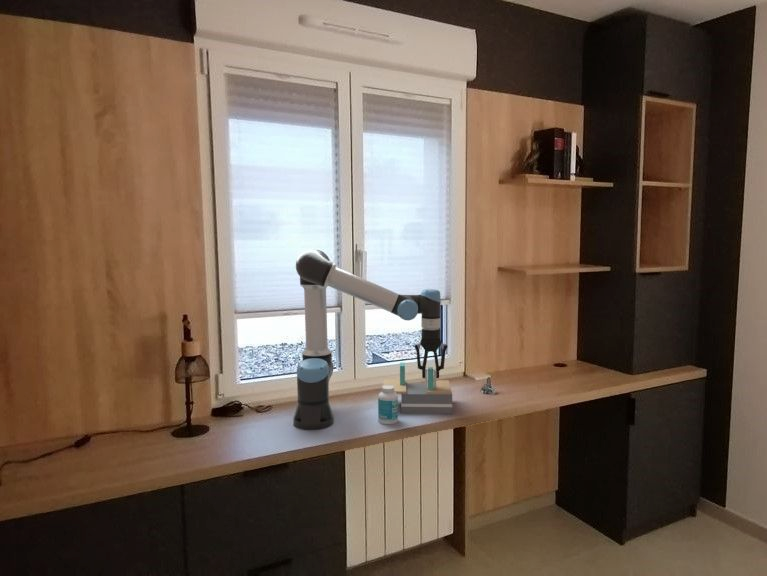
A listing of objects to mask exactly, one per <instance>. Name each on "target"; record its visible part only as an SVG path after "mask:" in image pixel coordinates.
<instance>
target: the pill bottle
mask: <svg viewBox="0 0 767 576" xmlns="http://www.w3.org/2000/svg"><path fill="white" fill-rule="evenodd" d="M377 396H378V398H377V404H378V405H377V406H378V407H377V408H378V409H377V411H378V412H377V413H378V414H377V416H378V417H377V419H378V420H377V421H378V423H380V424H381V425H388V426H389V425H394V424H396V423H397V422H399V421H398V420H399V419H398V418H399V414H398V413H399V410H398V409H399V408H398V407H399V402H398V401H399V394H397V393H395V392H394V387H393V386H383V385H382V386H381V391H380V392H379V394H378V395H377Z"/></svg>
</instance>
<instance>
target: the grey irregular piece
mask: <svg viewBox="0 0 767 576" xmlns="http://www.w3.org/2000/svg"><path fill="white" fill-rule="evenodd" d="M479 391H480V392H481V393H482V394H485V395H491V396H494V395H497V394H499V391H497V389H496V388H495V387H494V384H492V378H491V376H488V377H487V379H486V382H485V383H484V385H483V386H481V389H480V390H479Z"/></svg>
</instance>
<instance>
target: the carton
mask: <svg viewBox="0 0 767 576" xmlns="http://www.w3.org/2000/svg"><path fill="white" fill-rule="evenodd" d="M400 397H401V398H400V399H401V401H400V406H401V411H400V412H401V414H421V415H422V414H423V415H424V414H426V415H427V414H428V415H429V414H432V415H433V414H443V415H444V414H445V415H446V414H447V415H449V414H450V415H451V414H453V393H452V394H427V388H426V387H425V382H406V394H400Z"/></svg>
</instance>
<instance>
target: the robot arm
mask: <svg viewBox="0 0 767 576" xmlns="http://www.w3.org/2000/svg"><path fill="white" fill-rule="evenodd" d="M336 265H337V264H336V263H335V262H332V261H331V260H330V258H329V256H328V255H327V254H326V253H325V252H324V251H322V250H319V249H310V250H305V251H304V252H302V253H301V254H299V256H298V257H297V259H296V263H295V270H296V273H297V274H298V276H299V284H300V287H302V288H303V295H304V321H305V322H304V324H305V325H304V326H305V327H304V330H305V349H304V350H303V351H302V354H301V355H302V356H301V357H302V360H301V361H299V363H298V364H297V366H296V380H297V381H296V382H297V383H296V384H297V404H296V409H295V412H294V415H293V418H292V420H293V421H292V422H293V426H294V427H295V428H297V429H300V430H304V431H305V430H306V431H315V430H323V429H327V428H329V427H331V426H332V425H333V424H334V422H335V419H334V418H335V415H334V413H333V410H332V407H331V405H330V397H329V396H330V394H329V392H330V391H329V389H330V388H329V385H330V380H331V377H332V376H333V373H334V363H333V359H332V357H333V355H332V354H333V353H332V350H331V349H330V348H329V346H328V345H329V343H328V315H327V314H328V313H327V288H328V287H330V288H332V289H335V290H337V291H339V292H342V293H345V294H347V295H349V296H350V297H353V298H355V299H358V300H360V301H362V302H365V303H368V304H370V305H372V306H375V307H377V308H379V309H381V310H384V311H386V312H389V313H391V314H393V315H395V316H398V317H400V319H402V320H404V321H412V320H414V319H416V317H417V315H420V314H421V322H420V323H421V325H420V327H421V328H422V329H421V339H420V341H419V342H418V343H415V344H414V346H413V347H414V350H415V351H416V352H415V353H416V362H417V363H416V364H417V369H418V370H421V372H422V373H421V374H422V375H421V378H422V379H424V383H425V387H427V380H428V368H427V360H428V354H429V352H432V353H433V358H434V364H435V365H434V366H435V368H433V370H434V387H436V380H437V379H439V378H440V371H441V370H443V369H445V361H446V360H445V359H446V350H447V349H448V345H447V344H446V343H443V342H442V340H441V329H440V328H441V310H442V308H441V307H442V306H441V305H442V304H441V303H442V301H441V292H440V290H438V289H429V288H428V289H422V290H421V293H420V294H399V293H397V292H394V291H393V290H390V289H388V288H385V287H383V286H380V285H378V284H377V283H374V282H371V281H369V280H367V279H366V278H362V277H361V276H358V275H356V274H353V273H352V272H348V271H347V270H343V269H341V268H339V267H337V266H336ZM440 347H441V348H440ZM421 348H422V349H423V350H424V352H423V353H424V355H423V359H422V360H423V361H422V364H421V354H420V349H421ZM438 349H441V356H440V357H441V358H440V365H439V357H438V352H437V351H438Z"/></svg>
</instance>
